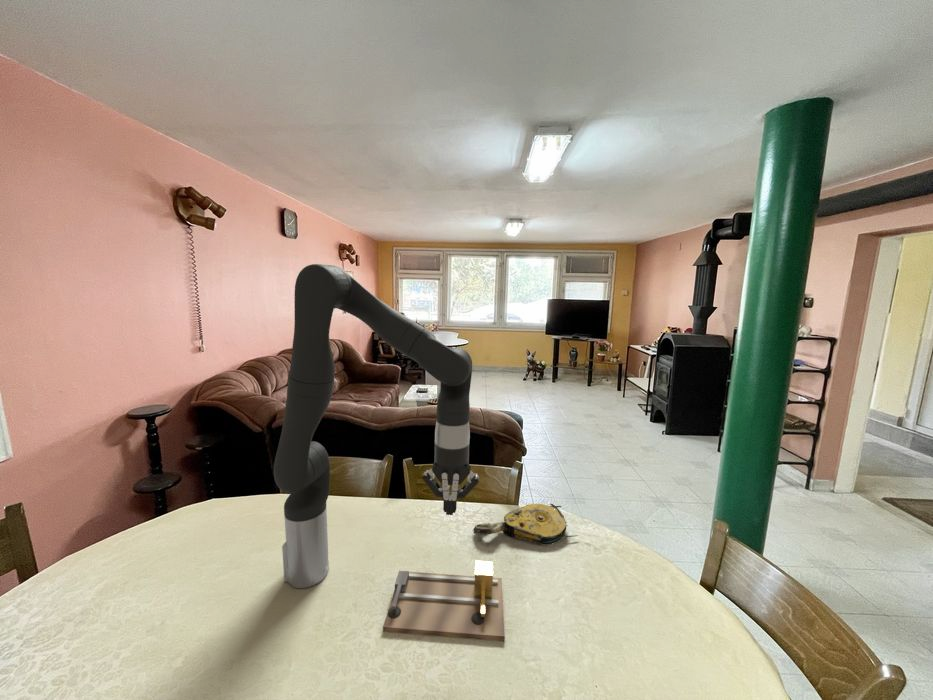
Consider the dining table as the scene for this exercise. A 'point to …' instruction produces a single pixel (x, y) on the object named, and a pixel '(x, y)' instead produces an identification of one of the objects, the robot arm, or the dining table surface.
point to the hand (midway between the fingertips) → (449, 512)
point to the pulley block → (530, 524)
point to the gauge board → (444, 607)
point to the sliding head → (483, 583)
